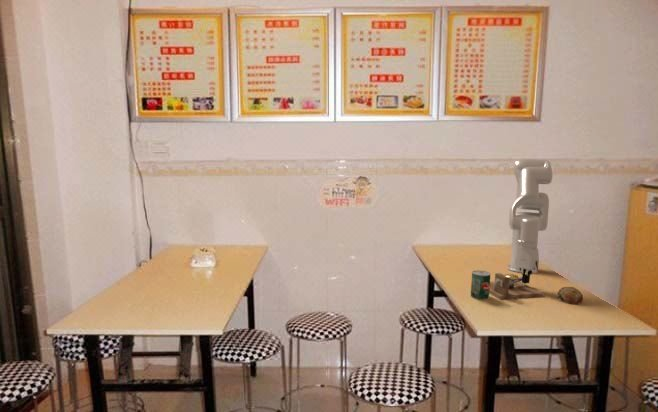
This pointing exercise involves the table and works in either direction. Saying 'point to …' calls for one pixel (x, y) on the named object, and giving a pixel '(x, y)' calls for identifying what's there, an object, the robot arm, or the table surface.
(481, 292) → the canned tomato
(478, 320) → the table surface
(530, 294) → the stand
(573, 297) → the bread roll
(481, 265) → the table surface
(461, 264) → the table surface
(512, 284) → the lever
